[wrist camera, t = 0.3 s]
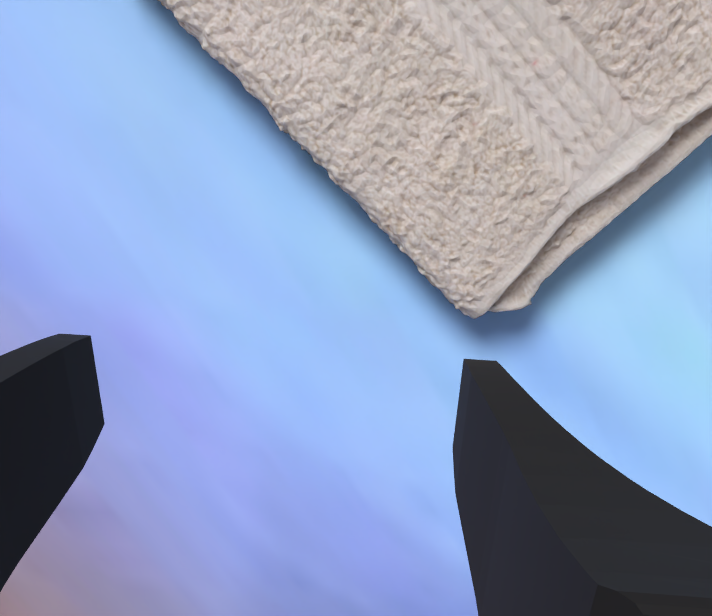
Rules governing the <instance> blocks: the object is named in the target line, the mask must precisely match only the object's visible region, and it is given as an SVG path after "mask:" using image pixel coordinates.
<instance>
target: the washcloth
mask: <svg viewBox="0 0 712 616" xmlns="http://www.w3.org/2000/svg"><path fill="white" fill-rule="evenodd" d="M158 1H160V2H161V5H163V6H165V7H166V9H169V10H171V11H172V12H173V13H174V16H175V18H176V19H177V20H178V22H179V25H180V26H181V27H183V28H184V29H185V30H186V31H187V32H188V33H189V34H191V35H193V36H194V37H196V38H197V39H198V41H199V42H200V44H201V46H202V49H203V50H206V51H207V52H208V53H209V54H210V56H211V57H212V58H214V59H216V60H217V61H218V62H219V64H223V65H224V66H225V67H226V68H227V69H228V70H229V71H230V72H232V73H233V74H234V75H235V76H236V77H237V78H238V79H239V80H240V81H241V83H242V85H243V87H244V88H245V90H246V91H247V92H249V93H250V94H251V95H252V96H254V97H255V98H257V99H258V100H260V101H261V102H262V104H263V106H265V107H266V108H267V110H268V111H269V113H270V114H271V116H272V117H273V119H274V121H275V122H276V124H277V125H278V127H279V129H280V131H284V132H285V133H289V135H290V136H291V138H292V139H293V140H294V141H297V142H298V143H299V144H300V145H301V149H302V150H307V152H308V153H309V154H311V156H312V158H313V160H314V162H315V163H317V164H319V165H321V166H323V167H324V168H325V169H326V170H327V172H328V175H329V177H330V179H331V180H332V181H334V183H335V184H336V185H339V186H340V188H341V189H342V190H343V191H344V192H346V193H348V194H349V195H350V196H351V197H352V198H353V199H355V200H356V201H357V202H358V203H359V204H360V206H361V207H362V208H363V210H364V211H365V212H366V213H367V214H368V215H369V217H370V219H371V220H372V222H373V223H376V224H377V225H378V227H379V228H380V229H382V230H383V231H384V232H385V233H387V234H388V235H389V238H390V240H391V241H392V243H394V244H397V246H398V248H399V249H400V250H401V251H402V252H404V253H406V254H407V255H408V256H409V257H410V258H411V259H412V260H413V261H414V264H415V265H417V268H418V270H419V272H420V273H421V274H423V275H425V276H426V278H427V280H428V281H429V282H430V283H431V284H432V285H433V286H435V287H437V288H438V289H439V290H440V291H441V292H442V293H443V294H444V296H445V297H446V298H447V299H448V300H449V302H450V303H452V304H454V305H455V308H456V309H459V310H460V311H461V312H462V313H463V314H464V315H467V316H469V317H471V318H473V319H476V318H478V317H480V316H482V315H484V314H485V313H486V312H487V311H492V312H501V311H512V310H519V309H522V308H524V307H526V306H528V305H530V304H531V298H532V297H533V296H535V293H536V292H537V290H538V289H539V287H540V284H541V283H542V282H543V281H544V280H545V279H546V278H547V277H549V276H550V275H551V274H552V273H553V272H554V271H555V270H556V269H557V268H558V267H559V266H560V265H561V264H562V263H563V262H564V261H565V260H566V259H567V258H568V257H570V256H571V255H572V254H573V253H574V252H575V251H577V250H578V249H579V248H581V247H582V246H583V245H584V244H585V243H586V242H587V241H589V240H591V239H592V238H593V237H594V236H595V235H596V234H597V233H599V232H600V231H601V230H602V229H603V228H604V227H605V226H607V225H608V224H609V223H610V222H611V221H612V220H613V219H614V218H615V217H617V216H618V215H619V214H621V213H622V212H623V211H624V210H625V209H626V208H628V207H629V206H630V205H631V204H632V203H633V202H635V201H636V200H637V199H638V198H639V197H640V196H641V195H642V194H643V193H645V192H646V191H647V190H648V189H650V188H651V187H652V186H653V185H654V184H655V183H657V182H658V181H659V180H660V179H662V178H663V177H664V176H665V175H666V174H668V173H669V172H671V171H672V170H673V169H674V168H675V167H676V166H677V165H678V164H679V163H680V162H681V161H682V160H684V159H685V158H686V157H688V156H689V155H690V154H691V153H692V152H693V151H694V150H695V149H696V148H697V147H698V146H700V145H701V144H702V143H703V142H704V141H705V140H706V139H707V138H708V137H710V136H711V135H712V0H158Z"/></svg>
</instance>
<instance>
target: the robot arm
mask: <svg viewBox="0 0 712 616" xmlns="http://www.w3.org/2000/svg"><path fill="white" fill-rule="evenodd" d="M103 426H104V418H103V411H102V405H101V399H100V392H99V386H98V380H97V373H96V367H95V361H94V354H93V348H92V342H91V336H88V335H72V334H57V335H54V336H50V337H47V338H44V339H41V340H39V341H36V342H33V343H31V344H28V345H25V346H23V347H21V348H18V349H16V350H13V351H11V352H8V353H6V354H4V355H1V356H0V592H1V590H2V588H3V586H4V585H5V583H6V581H7V580H8V578H9V577H10V575H11V573H12V572H13V570H14V569H15V567H16V566H17V564H18V562H19V561H20V559H21V558H22V557H23V555H24V554H25V552H26V551H27V549H28V548H29V546H30V545H31V544H32V542H33V541H34V539H35V538H36V536H37V535H38V533H39V532H40V530H41V529H42V528H43V526H44V525H45V523H46V522H47V520H48V519H49V517H50V516H51V515H52V513H53V512H54V510H55V509H56V507H57V506H58V504H59V503H60V502H61V500H62V499H63V497H64V496H65V494H66V493H67V491H68V490H69V488H70V487H71V485H72V484H73V482H74V481H75V479H76V478H77V476H78V475H79V473H80V472H81V470H82V469H83V467H84V465H85V463H86V461H87V459H88V457H89V455H90V454H91V452H92V450H93V448H94V445H95V443H96V441H97V439H98V437H99V435H100V432H101V430H102V428H103ZM453 462H454V479H455V493H456V499H457V504H458V509H459V515H460V520H461V525H462V530H463V535H464V540H465V545H466V551H467V556H468V561H469V566H470V571H471V576H472V581H473V586H474V591H475V596H476V603H477V609H478V616H712V527H711V526H709V525H707V524H705V523H703V522H702V521H700V520H698V519H696V518H694V517H692V516H690V515H688V514H687V513H685V512H683V511H681V510H679V509H678V508H676V507H674V506H673V505H671V504H669V503H668V502H666V501H664V500H663V499H661V498H659V497H657V496H656V495H654V494H652V493H651V492H649V491H647V490H646V489H644V488H643V487H641V486H640V485H638V484H636V483H635V482H633V481H632V480H630V479H629V478H627V477H626V476H625V475H623V474H622V473H620V472H619V471H618V470H616V469H615V468H613V467H612V466H611V465H609V464H608V463H606V462H605V461H604V460H602V459H601V458H599V457H598V456H597V455H596V454H594V453H593V452H592V451H590V450H589V449H588V448H587V447H585V446H584V445H583V444H582V443H581V442H579V441H578V440H577V439H576V438H575V437H574V436H572V435H571V434H570V433H569V432H568V431H566V430H565V429H564V428H563V427H562V426H561V425H560V424H559V423H558V422H556V421H555V420H554V419H553V418H552V417H551V416H550V415H549V414H548V413H547V412H546V411H545V410H544V409H543V408H542V407H541V406H540V405H539V404H538V403H537V402H536V401H535V400H534V399H533V398H532V397H531V396H530V395H529V394H528V393H527V392H526V391H525V390H524V389H523V388H522V387H521V386H520V385H519V384H518V383H517V382H516V381H515V380H514V379H513V378H512V377H511V376H510V374H509V373H508V372H507V371H506V370H505V369H504V368H503V367H502V366H501V365H500V364H499V363H498V362H497V361H489V360H473V359H464V361H463V369H462V377H461V385H460V393H459V401H458V409H457V417H456V425H455V433H454V441H453Z"/></svg>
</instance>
